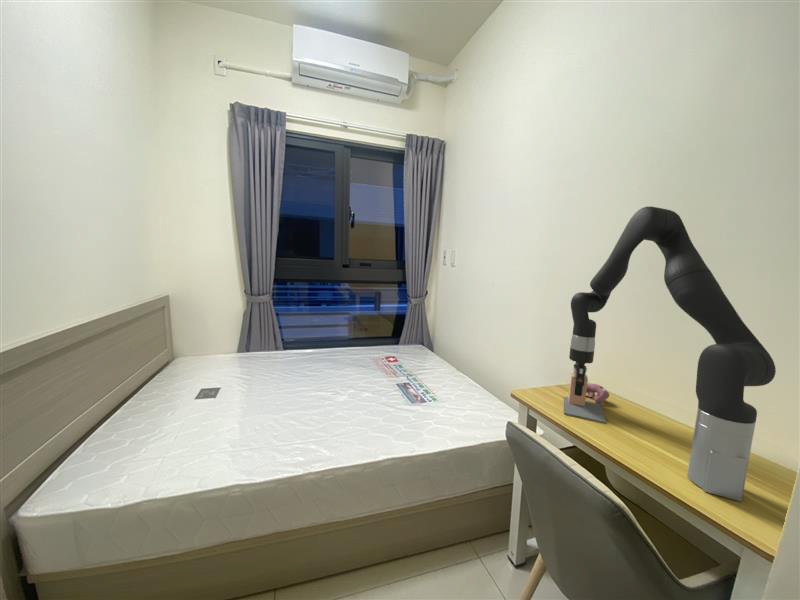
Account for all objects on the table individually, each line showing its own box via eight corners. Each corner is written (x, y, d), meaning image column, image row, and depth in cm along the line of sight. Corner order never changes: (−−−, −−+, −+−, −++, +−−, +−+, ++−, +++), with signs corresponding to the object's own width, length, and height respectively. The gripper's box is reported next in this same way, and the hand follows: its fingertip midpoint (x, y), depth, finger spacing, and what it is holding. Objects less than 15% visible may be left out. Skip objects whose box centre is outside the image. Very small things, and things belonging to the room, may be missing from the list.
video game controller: (605, 408, 117) (613, 392, 118) (596, 404, 116) (605, 387, 116) (583, 397, 127) (592, 382, 127) (575, 393, 126) (584, 377, 126)
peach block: (584, 406, 113) (587, 379, 112) (568, 403, 116) (571, 376, 114) (583, 401, 118) (586, 375, 117) (568, 398, 120) (571, 372, 119)
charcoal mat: (605, 423, 102) (606, 422, 102) (563, 414, 107) (564, 412, 107) (600, 405, 116) (600, 403, 116) (563, 398, 122) (563, 396, 122)
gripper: (596, 354, 107) (590, 400, 108) (592, 345, 119) (587, 387, 121) (570, 350, 110) (566, 395, 112) (570, 342, 123) (565, 383, 124)
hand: (577, 391), depth 116 cm, fingers open, 8 cm apart
